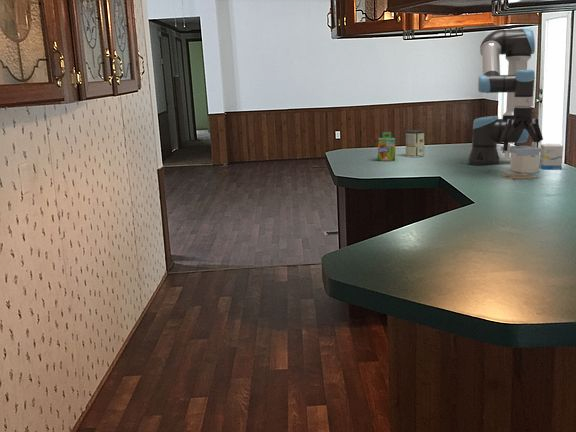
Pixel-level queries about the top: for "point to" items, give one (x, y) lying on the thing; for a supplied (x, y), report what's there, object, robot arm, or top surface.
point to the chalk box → (386, 147)
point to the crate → (524, 163)
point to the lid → (524, 150)
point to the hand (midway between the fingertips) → (520, 157)
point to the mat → (519, 176)
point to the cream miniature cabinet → (415, 143)
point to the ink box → (551, 157)
